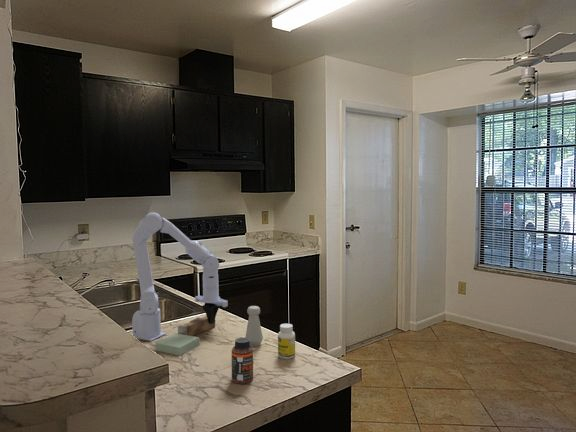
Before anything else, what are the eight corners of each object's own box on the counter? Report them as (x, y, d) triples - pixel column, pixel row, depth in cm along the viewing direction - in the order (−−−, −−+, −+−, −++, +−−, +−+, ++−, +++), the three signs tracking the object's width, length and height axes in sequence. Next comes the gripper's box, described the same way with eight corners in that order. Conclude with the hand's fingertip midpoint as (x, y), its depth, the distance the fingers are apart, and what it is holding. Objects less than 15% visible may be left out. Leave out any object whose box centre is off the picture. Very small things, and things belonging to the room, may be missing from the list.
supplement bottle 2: (274, 356, 136) (274, 325, 135) (286, 351, 140) (286, 321, 139) (287, 360, 132) (286, 329, 132) (298, 355, 136) (298, 325, 136)
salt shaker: (260, 348, 142) (259, 309, 141) (243, 347, 144) (242, 308, 143) (264, 342, 148) (264, 304, 147) (248, 341, 149) (248, 304, 148)
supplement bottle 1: (244, 386, 116) (243, 345, 115) (227, 381, 119) (226, 341, 118) (257, 378, 121) (257, 338, 120) (240, 373, 124) (240, 334, 123)
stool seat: (155, 350, 142) (155, 342, 141) (175, 340, 151) (175, 333, 150) (180, 355, 137) (179, 347, 137) (199, 344, 146) (199, 337, 146)
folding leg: (182, 340, 150) (182, 328, 150) (176, 338, 152) (175, 326, 152) (215, 326, 164) (215, 315, 164) (209, 325, 166) (209, 314, 165)
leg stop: (190, 329, 162) (190, 321, 162) (198, 325, 167) (198, 317, 166) (194, 329, 161) (194, 321, 161) (202, 325, 166) (202, 318, 166)
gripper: (232, 287, 159) (233, 323, 160) (204, 282, 167) (204, 317, 168) (219, 291, 154) (220, 328, 155) (190, 286, 161) (191, 322, 162)
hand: (211, 323), depth 161 cm, fingers closed
